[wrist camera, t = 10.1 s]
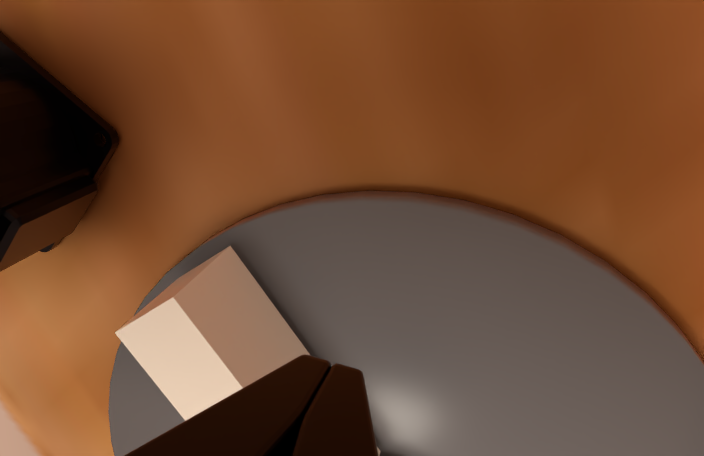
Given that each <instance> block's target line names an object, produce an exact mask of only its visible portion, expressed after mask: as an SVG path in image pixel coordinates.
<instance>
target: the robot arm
mask: <svg viewBox="0 0 704 456" xmlns="http://www.w3.org/2000/svg"><path fill="white" fill-rule="evenodd" d="M101 134H102V135H103V136H104V137H105V139H106V144H105V143H103V141H102V140H101V137H100V135H101ZM118 143H119V138H118V135H117V132H116V131H115V130H114V129H113V127H111V126H110V125H109V124H108V123H107V122H106V121H104V120H103V119H102V118H101V117H100V116H98V115H97V114H96V113H95V112H94V111H93V110H91V109H90V108H89V107H88V106H87V105H86V104H84V103H83V102H82V101H81V100H80V99H79V98H77V97H76V96H75V95H74V94H73V93H71V92H70V91H69V90H68V89H67V88H66V87H64V86H63V85H62V84H61V83H60V82H59V81H57V80H56V79H55V78H54V77H53V76H51V75H50V74H49V73H48V72H47V71H46V70H44V69H43V68H42V67H41V66H40V65H39V64H37V63H36V62H35V61H34V60H33V59H32V58H30V57H29V56H28V55H27V54H26V53H24V52H23V51H22V50H21V49H20V48H19V47H17V46H16V45H15V44H14V43H13V42H12V41H10V40H9V39H8V38H7V37H6V36H5V35H3V34H2V33H1V32H0V271H2V270H4V269H6V268H8V267H10V266H12V265H13V264H15V263H17V262H19V261H21V260H23V259H25V258H26V257H28V256H30V255H32V254H34V253H36V252H38V251H41V252H48V251H50V250H52V249H54V248H55V247H56V246H57V245H58V244H59V243H60V241H61V239H62V238H64V237H65V236H67V235H69V234H71V233H72V232H73V231H74V229H75V228H76V226H77V225H78V223H79V221H80V220H81V218H82V216H83V215H84V213H85V211H86V210H87V208H88V207H89V205H90V203H91V202H92V200H93V198H94V197H95V195H96V193H97V192H98V183H97V182H96V181H97V180H98V178H99V176H100V175H101V173H102V171H103V170H104V168H105V166H106V165H107V163H108V161H109V160H110V158H111V156H112V155H113V153H114V151H115V150H116V148H117V146H118ZM124 456H379V455H378V450H377V445H376V439H375V434H374V429H373V423H372V418H371V412H370V407H369V402H368V396H367V391H366V386H365V380H364V375H363V373H362V371H361V370H359V369H356V368H353V367H349V366H346V365H342V364H338V363H336V364H333V365H331V363H330V362H329V361H328V360H325V359H321V358H318V357H314V356H311V355H306V354H304V355H300V356H299V357H297V358H295V359H293V360H291V361H290V362H288V363H286V364H284V365H283V366H281V367H279V368H277V369H276V370H274V371H272V372H270V373H269V374H267V375H265V376H263V377H262V378H260V379H258V380H256V381H255V382H253V383H251V384H249V385H247V386H246V387H244V388H242V389H240V390H239V391H237V392H235V393H233V394H232V395H230V396H228V397H226V398H225V399H223V400H221V401H219V402H218V403H216V404H214V405H212V406H211V407H209V408H207V409H205V410H204V411H202V412H200V413H198V414H196V415H195V416H193V417H191V418H189V419H188V420H186V421H184V422H182V423H181V424H179V425H177V426H175V427H174V428H172V429H170V430H168V431H167V432H165V433H163V434H161V435H160V436H158V437H156V438H154V439H152V440H151V441H149V442H147V443H145V444H144V445H142V446H140V447H138V448H137V449H135V450H133V451H131V452H130V453H128V454H126V455H124Z"/></svg>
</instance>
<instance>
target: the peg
mask: <svg viewBox="0 0 704 456" xmlns="http://www.w3.org/2000/svg"><path fill="white" fill-rule="evenodd" d="M115 334H116V335H117V336H118V337H119V339H120V340H121V341H122V342H123V344H124V345H125V346H126V347H127V349H128V350H129V351H130V352H131V354H132V355H133V356H134V357H135V359H136V360H137V361H138V362H139V364H140V365H141V366H142V367H143V369H144V370H145V371H146V372H147V374H148V375H149V376H150V377H151V379H152V380H153V381H154V382H155V384H156V385H157V386H158V387H159V389H160V390H161V391H162V392H163V394H164V395H165V396H166V397H167V399H168V400H169V401H170V402H171V404H172V405H173V406H174V407H175V408H176V410H177V411H178V412H179V413H180V415H181V416H182V417H183V418H184V420H185V421H186V420H188V419H189V418H191V417H193V416H195V415H196V414H198V413H200V412H202V411H204V410H205V409H207V408H209V407H211V406H212V405H214V404H216V403H218V402H219V401H221V400H223V399H225V398H226V397H228V396H230V395H232V394H233V393H235V392H237V391H239V390H240V389H242V388H244V387H246V386H247V385H249V384H251V383H253V382H255V381H256V380H258V379H260V378H262V377H263V376H265V375H267V374H269V373H270V372H272V371H274V370H276V369H277V368H279V367H281V366H283V365H284V364H286V363H288V362H290V361H291V360H293V359H295V358H297V357H299V356H300V355H304V354H306V355H310V354H309V353H308V351H307V350H306V349H305V347H304V346H303V344H302V343H301V342H300V340H299V339H298V338H297V336H296V335H295V333H294V332H293V331H292V329H291V328H290V327H289V325H288V324H287V323H286V321H285V320H284V318H283V317H282V316H281V314H280V313H279V312H278V310H277V309H276V307H275V306H274V305H273V303H272V302H271V301H270V299H269V298H268V296H267V295H266V294H265V292H264V291H263V290H262V288H261V287H260V286H259V284H258V283H257V281H256V280H255V279H254V277H253V276H252V275H251V273H250V272H249V270H248V269H247V268H246V266H245V265H244V264H243V262H242V261H241V260H240V258H239V257H238V255H237V254H236V253H235V251H234V250H233V249H232V247H231V246H229V247H227V248H226V249H224V250H223V251H221V252H219V253H218V254H216V255H214V256H213V257H211V258H210V259H208V260H206V261H205V262H203V263H202V264H200V265H198V266H197V267H195V268H194V269H192V270H190V271H189V272H187V273H186V274H184V275H182V276H181V277H179V278H178V279H177V280H176V281H174V282H173V283H172V284H171V285H170V286H169V287H167V288H166V289H165V290H164V291H163V292H162V293H160V294H159V295H158V296H157V297H156V298H154V299H153V300H152V301H151V302H150V303H149V304H147V305H146V306H145V307H144V308H143V309H142V310H140V311H139V312H138V313H137V314H136V315H135V316H133V317H132V318H131V319H130V320H129V321H128V322H126V323H125V324H124V325H123V326H122V327H121V328H119V329H118V330H117V331H116V332H115ZM377 450H378V455H379V456H380V452H381V451H380V450H379V448H378V447H377Z"/></svg>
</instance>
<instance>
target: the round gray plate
mask: <svg viewBox="0 0 704 456" xmlns="http://www.w3.org/2000/svg"><path fill="white" fill-rule="evenodd" d="M229 246H231V247H232V249H233V250H234V251H235V253H236V254H237V255H238V257H239V258H240V260H241V261H242V262H243V264H244V265H245V266H246V268H247V269H248V270H249V272H250V273H251V275H252V276H253V277H254V279H255V280H256V281H257V283H258V284H259V286H260V287H261V288H262V290H263V291H264V292H265V294H266V295H267V296H268V298H269V299H270V301H271V302H272V303H273V305H274V306H275V307H276V309H277V310H278V312H279V313H280V314H281V316H282V317H283V318H284V320H285V321H286V323H287V324H288V325H289V327H290V328H291V329H292V331H293V332H294V333H295V335H296V336H297V338H298V339H299V340H300V342H301V343H302V344H303V346H304V347H305V349H306V350H307V351H308V353H309V354H310V355H311V356H314V357H318V358H321V359H325V360H328V361H329V362H330V363H331V365H333V364H336V363H338V364H342V365H346V366H349V367H353V368H356V369H359V370H361V371H362V373H363V375H364V380H365V386H366V391H367V396H368V402H369V407H370V412H371V418H372V423H373V429H374V434H375V439H376V445H377V447H378V448H379V450H380V451H381V452H380V456H704V361H703V360H702V358H701V357H700V356H699V354H698V353H697V352H696V350H695V349H694V347H693V346H692V345H691V343H690V342H689V340H688V339H687V338H686V336H685V335H684V334H683V332H682V331H681V329H680V328H679V327H678V325H677V324H676V323H675V322H674V321H673V320H672V319H671V318H670V317H669V316H668V315H667V314H666V313H665V312H664V311H663V310H662V309H661V308H660V307H659V306H658V305H657V304H656V303H655V302H654V301H653V300H652V299H651V298H650V297H649V296H648V295H647V294H646V293H645V292H644V291H643V290H642V289H641V288H639V287H638V286H637V285H635V284H634V283H633V282H632V281H630V280H629V279H628V278H626V277H625V276H624V275H623V274H621V273H620V272H619V271H617V270H616V269H615V268H614V267H612V266H611V265H610V264H608V263H607V262H606V261H604V260H603V259H601V258H599V257H598V256H596V255H594V254H593V253H591V252H589V251H587V250H586V249H584V248H582V247H581V246H579V245H577V244H576V243H574V242H572V241H570V240H569V239H567V238H565V237H564V236H562V235H560V234H558V233H555V232H553V231H551V230H548V229H546V228H544V227H541V226H539V225H537V224H534V223H532V222H530V221H528V220H525V219H523V218H521V217H518V216H516V215H513V214H510V213H507V212H503V211H500V210H496V209H493V208H489V207H486V206H483V205H479V204H476V203H472V202H469V201H466V200H460V199H454V198H448V197H442V196H435V195H429V194H423V193H417V192H395V191H357V192H346V193H335V194H324V195H319V196H315V197H310V198H306V199H302V200H297V201H293V202H289V203H284V204H280V205H278V206H275V207H272V208H270V209H267V210H265V211H262V212H259V213H257V214H254V215H252V216H249V217H247V218H244V219H242V220H240V221H238V222H237V223H235V224H233V225H231V226H230V227H228V228H226V229H224V230H223V231H221V232H219V233H217V234H216V235H214V236H212V237H211V238H209V239H208V240H207V241H206V242H204V243H203V244H202V245H201V246H199V247H198V248H197V249H196V250H194V251H193V252H192V253H191V254H189V255H188V256H187V257H186V258H184V259H183V260H182V261H181V262H179V263H178V264H177V265H176V266H175V267H173V268H172V269H171V270H170V271H168V272H167V273H166V274H165V276H164V277H163V278H162V279H161V280H160V281H159V282H158V283H157V285H156V286H155V287H154V288H153V289H152V290H151V291H150V292H149V294H148V295H147V296H146V297H145V298H144V300H143V302H142V303H141V305H140V306H139V308H138V310H137V311H136V313H135V314H134V316H135V315H136V314H137V313H138V312H139V311H140V310H142V309H143V308H144V307H145V306H146V305H147V304H149V303H150V302H151V301H152V300H153V299H154V298H156V297H157V296H158V295H159V294H160V293H162V292H163V291H164V290H165V289H166V288H167V287H169V286H170V285H171V284H172V283H173V282H174V281H176V280H177V279H178V278H179V277H181V276H182V275H184V274H186V273H187V272H189V271H190V270H192V269H194V268H195V267H197V266H198V265H200V264H202V263H203V262H205V261H206V260H208V259H210V258H211V257H213V256H214V255H216V254H218V253H219V252H221V251H223V250H224V249H226V248H227V247H229ZM184 421H185V420H184V418H183V417H182V416H181V415H180V413H179V412H178V411H177V410H176V408H175V407H174V406H173V405H172V404H171V402H170V401H169V400H168V399H167V397H166V396H165V395H164V394H163V392H162V391H161V390H160V389H159V387H158V386H157V385H156V384H155V382H154V381H153V380H152V379H151V377H150V376H149V375H148V374H147V372H146V371H145V370H144V369H143V367H142V366H141V365H140V364H139V362H138V361H137V360H136V359H135V357H134V356H133V355H132V354H131V352H130V351H129V350H128V349H127V347H126V346H125V345H124V344H123V342H122V341H121V344H120V346H119V349H118V351H117V354H116V358H115V363H114V368H113V372H112V377H111V381H110V396H109V422H110V432H111V442H112V446H113V450H114V455H115V456H124V455H126V454H128V453H130V452H131V451H133V450H135V449H137V448H138V447H140V446H142V445H144V444H145V443H147V442H149V441H151V440H152V439H154V438H156V437H158V436H160V435H161V434H163V433H165V432H167V431H168V430H170V429H172V428H174V427H175V426H177V425H179V424H181V423H182V422H184Z"/></svg>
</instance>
